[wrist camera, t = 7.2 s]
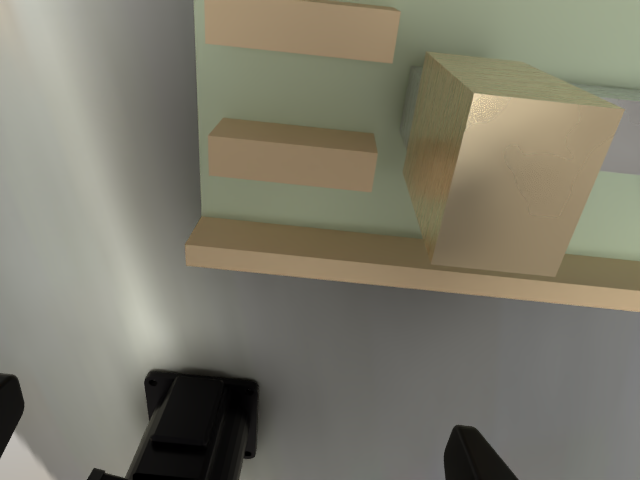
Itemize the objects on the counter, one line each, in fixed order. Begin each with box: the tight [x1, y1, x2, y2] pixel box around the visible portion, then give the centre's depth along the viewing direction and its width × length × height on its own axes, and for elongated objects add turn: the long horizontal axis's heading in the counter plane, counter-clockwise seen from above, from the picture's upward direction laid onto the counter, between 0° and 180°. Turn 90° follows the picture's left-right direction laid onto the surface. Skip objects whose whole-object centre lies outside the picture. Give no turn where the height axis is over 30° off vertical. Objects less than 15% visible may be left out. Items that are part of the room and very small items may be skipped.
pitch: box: [185, 0, 640, 312], centre depth 17 cm, size 14×27×4 cm, turn 85°
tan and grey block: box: [399, 51, 640, 277], centre depth 14 cm, size 5×12×8 cm, turn 85°
